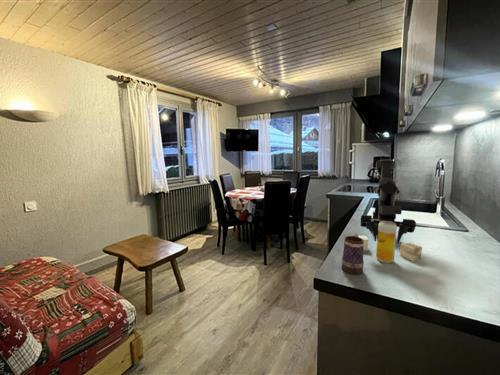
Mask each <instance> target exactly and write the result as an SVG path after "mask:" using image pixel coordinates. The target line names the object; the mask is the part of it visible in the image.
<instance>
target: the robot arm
mask: <svg viewBox="0 0 500 375" xmlns="http://www.w3.org/2000/svg"><path fill="white" fill-rule="evenodd" d="M375 169H376V172H377V173H376V174H377V175H378V177H379V181H378V185H377V186H376V194H377V196H378V204H377V205H376V206H375V208H374V211H372V215H368V214H361V216H360V227H362V228H365V229H367V230H368V231H369V232H370V234H371V235H372V239H373V240H374V242H377V237H378V225H379V223H380V221H389V222H393V223H396V226H397V228H398V231H397V235H396V245H400V241H401V239H402V237H403V235H405V234H408V233H411V234H413V233H414V231H415V229H416V227H417V222H416V221H415V220H414V219H409V218H403V219H402V220H401V221H396V219H397V215H401V214H402V212H403V211H402V208H403V207H402V205H398V204H397V205H395V201H396V198H397V195H398V194H400V189H399V188H398V186H397V185H396V182H395V181H394V180H393V178H392V177H393V175H392V174H393V171H394V170H395V169H396V160H392V159H379V160H376V163H375Z"/></svg>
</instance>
